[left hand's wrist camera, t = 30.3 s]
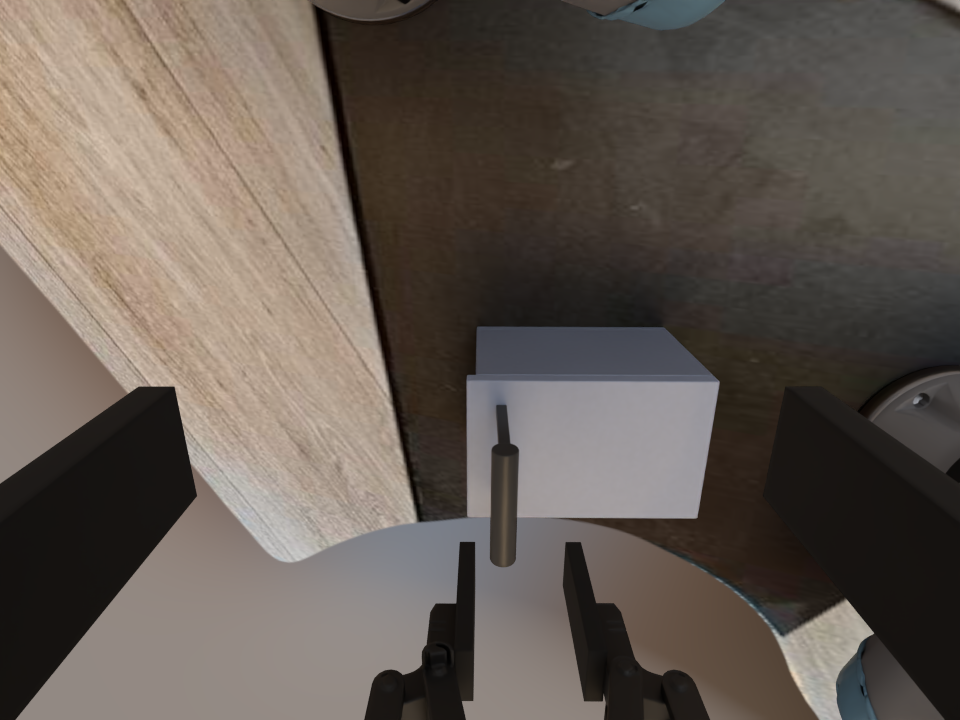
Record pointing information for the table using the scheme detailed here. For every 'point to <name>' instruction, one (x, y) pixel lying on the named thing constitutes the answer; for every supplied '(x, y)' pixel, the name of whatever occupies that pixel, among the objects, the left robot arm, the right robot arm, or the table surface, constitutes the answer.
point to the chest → (583, 352)
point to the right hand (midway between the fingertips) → (519, 564)
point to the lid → (584, 448)
